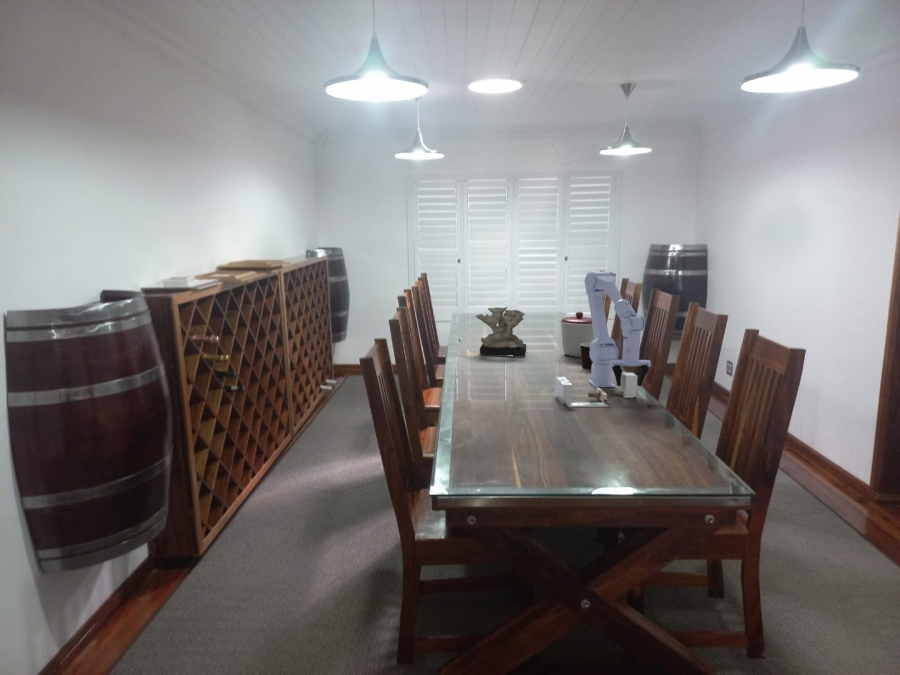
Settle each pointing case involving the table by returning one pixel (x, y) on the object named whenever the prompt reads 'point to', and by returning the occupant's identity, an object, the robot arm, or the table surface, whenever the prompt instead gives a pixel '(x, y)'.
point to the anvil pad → (599, 395)
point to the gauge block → (628, 385)
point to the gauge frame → (565, 394)
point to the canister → (576, 333)
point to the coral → (502, 333)
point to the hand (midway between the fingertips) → (628, 385)
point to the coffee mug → (586, 355)
